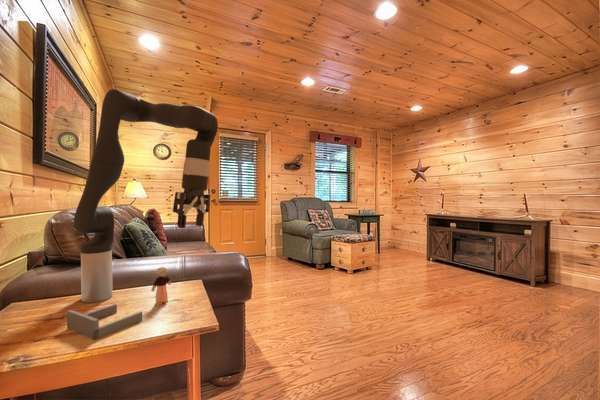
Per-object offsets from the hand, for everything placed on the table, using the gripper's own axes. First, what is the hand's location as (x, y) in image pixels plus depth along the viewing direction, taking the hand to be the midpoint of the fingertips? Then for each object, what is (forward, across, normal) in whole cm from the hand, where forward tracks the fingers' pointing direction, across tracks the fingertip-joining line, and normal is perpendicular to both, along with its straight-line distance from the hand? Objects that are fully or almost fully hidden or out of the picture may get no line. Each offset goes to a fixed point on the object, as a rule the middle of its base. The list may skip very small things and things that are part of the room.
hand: (190, 226), depth 87 cm
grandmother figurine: (+29, -8, -14) cm, 34 cm away
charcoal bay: (+30, +10, -18) cm, 36 cm away
